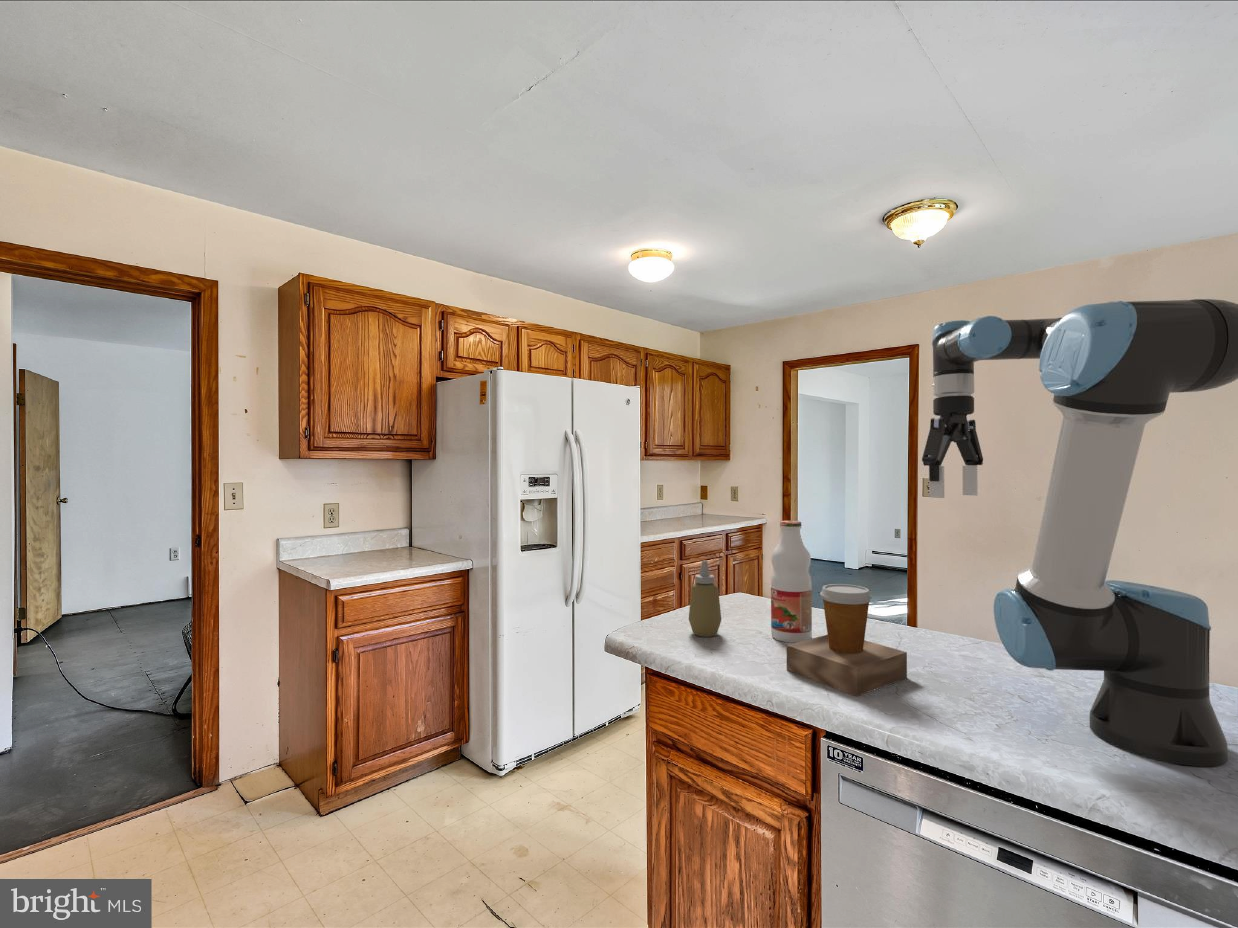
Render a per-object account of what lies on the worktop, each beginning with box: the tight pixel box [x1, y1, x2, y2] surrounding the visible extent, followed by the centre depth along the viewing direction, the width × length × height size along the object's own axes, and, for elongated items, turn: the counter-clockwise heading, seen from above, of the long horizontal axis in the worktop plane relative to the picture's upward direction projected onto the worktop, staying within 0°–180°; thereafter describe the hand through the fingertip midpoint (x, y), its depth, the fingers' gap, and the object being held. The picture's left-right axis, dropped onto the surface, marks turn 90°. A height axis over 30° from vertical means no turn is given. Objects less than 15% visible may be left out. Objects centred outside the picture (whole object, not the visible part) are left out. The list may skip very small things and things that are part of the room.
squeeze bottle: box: [688, 560, 722, 638], centre depth 142 cm, size 8×8×18 cm
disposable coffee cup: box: [819, 583, 873, 654], centre depth 115 cm, size 10×10×12 cm
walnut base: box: [786, 634, 908, 697], centre depth 115 cm, size 16×16×5 cm
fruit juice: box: [770, 520, 813, 644], centre depth 139 cm, size 9×9×28 cm
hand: (953, 496), depth 122 cm, fingers open, 13 cm apart
